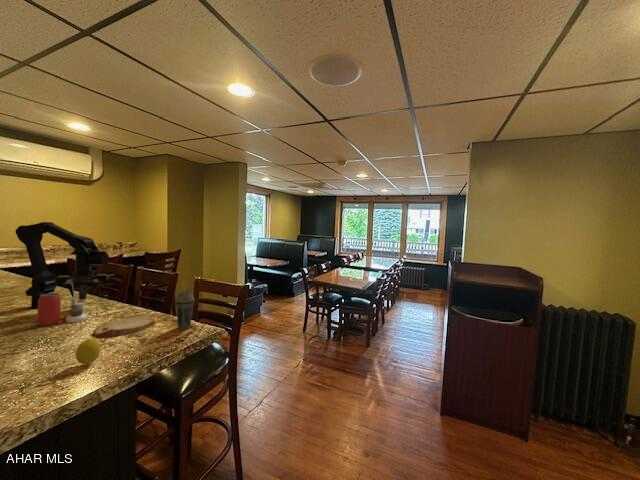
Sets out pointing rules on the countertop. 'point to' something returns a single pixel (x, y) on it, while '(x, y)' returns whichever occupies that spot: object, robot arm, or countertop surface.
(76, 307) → the lever
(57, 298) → the beer can
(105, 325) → the slice of bread
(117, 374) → the countertop surface
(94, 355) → the lemon
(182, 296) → the beverage cup
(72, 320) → the lever base
